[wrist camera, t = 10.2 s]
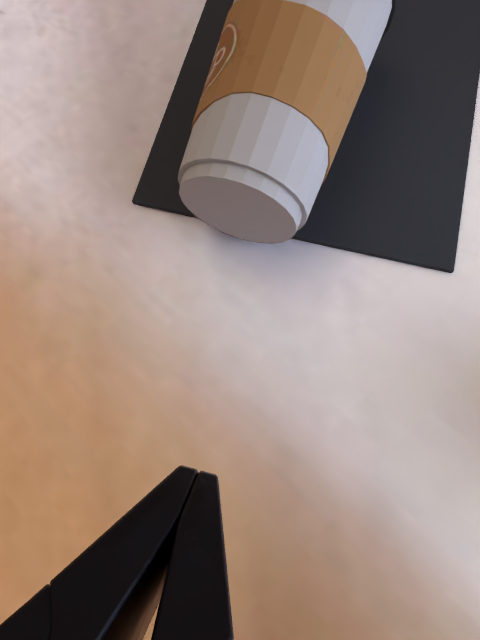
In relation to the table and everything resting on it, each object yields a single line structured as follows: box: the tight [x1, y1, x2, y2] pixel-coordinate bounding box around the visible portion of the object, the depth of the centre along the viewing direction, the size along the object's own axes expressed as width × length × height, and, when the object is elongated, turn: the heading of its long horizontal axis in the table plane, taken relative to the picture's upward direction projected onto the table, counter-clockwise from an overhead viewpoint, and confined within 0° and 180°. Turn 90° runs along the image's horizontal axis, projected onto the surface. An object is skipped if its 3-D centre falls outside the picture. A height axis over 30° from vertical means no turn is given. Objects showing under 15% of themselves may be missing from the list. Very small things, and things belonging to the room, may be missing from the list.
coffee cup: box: [178, 0, 396, 243], centre depth 22 cm, size 8×8×15 cm
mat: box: [132, 0, 480, 273], centre depth 27 cm, size 22×18×1 cm
